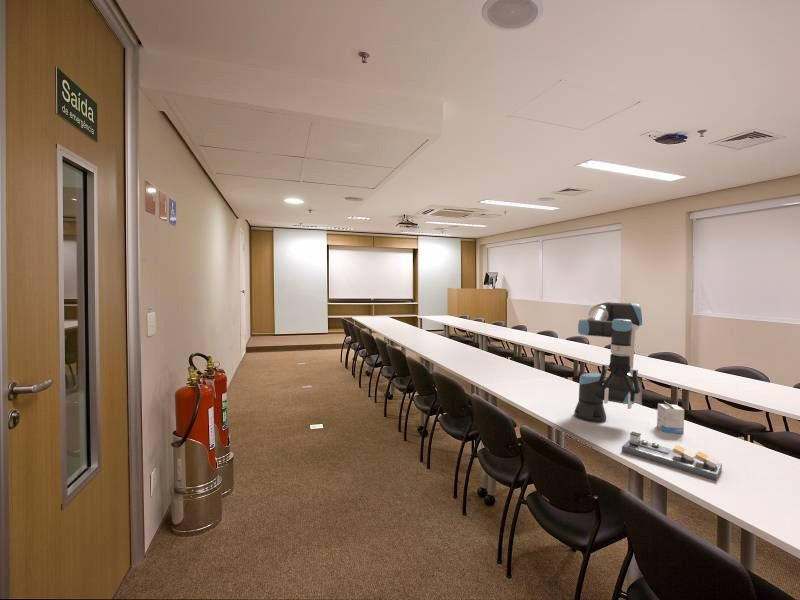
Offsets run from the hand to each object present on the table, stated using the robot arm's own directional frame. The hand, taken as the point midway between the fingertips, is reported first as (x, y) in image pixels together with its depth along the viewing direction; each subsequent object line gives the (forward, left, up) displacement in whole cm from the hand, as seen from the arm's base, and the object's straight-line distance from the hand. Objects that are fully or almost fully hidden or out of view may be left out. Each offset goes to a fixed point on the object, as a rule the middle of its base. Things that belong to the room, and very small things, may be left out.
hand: (617, 405), depth 168 cm
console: (+20, 0, -17) cm, 27 cm away
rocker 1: (+24, 0, -13) cm, 28 cm away
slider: (+7, 0, -14) cm, 16 cm away
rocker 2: (+31, 0, -13) cm, 34 cm away
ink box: (+12, +40, -18) cm, 45 cm away
